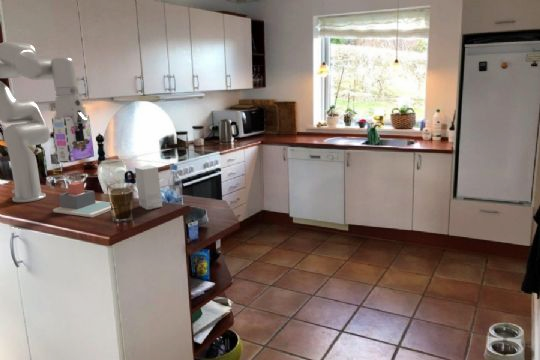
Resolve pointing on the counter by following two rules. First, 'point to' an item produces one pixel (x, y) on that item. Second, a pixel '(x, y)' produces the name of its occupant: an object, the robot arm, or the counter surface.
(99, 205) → the grey block on board
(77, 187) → the die plunger
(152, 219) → the counter surface
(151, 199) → the skincare box
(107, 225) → the counter surface
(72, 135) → the candy box
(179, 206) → the counter surface
